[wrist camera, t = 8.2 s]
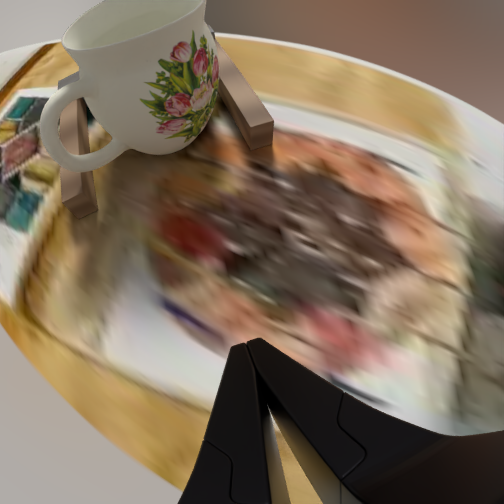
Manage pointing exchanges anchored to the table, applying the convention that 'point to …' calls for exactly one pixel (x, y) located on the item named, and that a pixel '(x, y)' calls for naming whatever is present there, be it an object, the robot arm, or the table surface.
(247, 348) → the robot arm
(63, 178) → the dock
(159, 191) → the table surface
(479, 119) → the table surface
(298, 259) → the table surface
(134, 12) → the pitcher
